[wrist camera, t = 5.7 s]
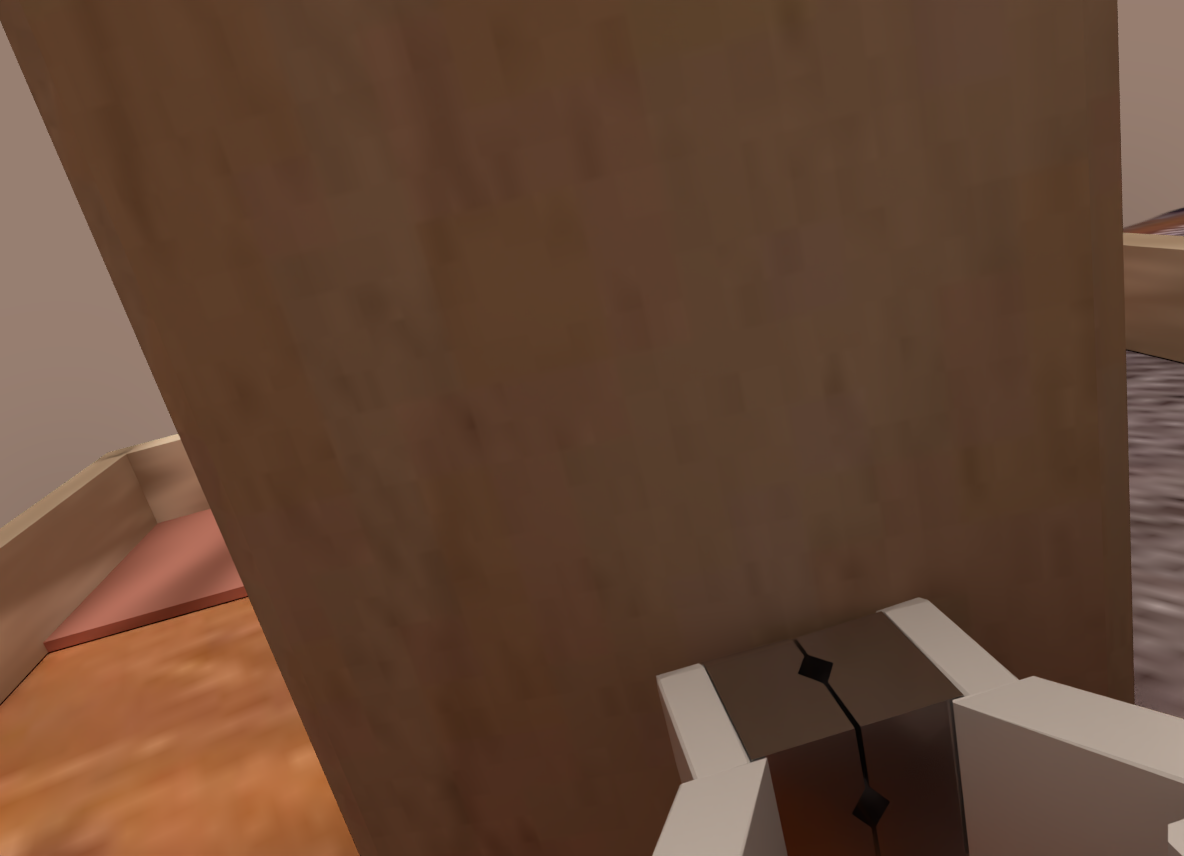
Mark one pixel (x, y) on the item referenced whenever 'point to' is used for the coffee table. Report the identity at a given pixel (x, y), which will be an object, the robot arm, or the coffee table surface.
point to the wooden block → (612, 354)
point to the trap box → (198, 551)
